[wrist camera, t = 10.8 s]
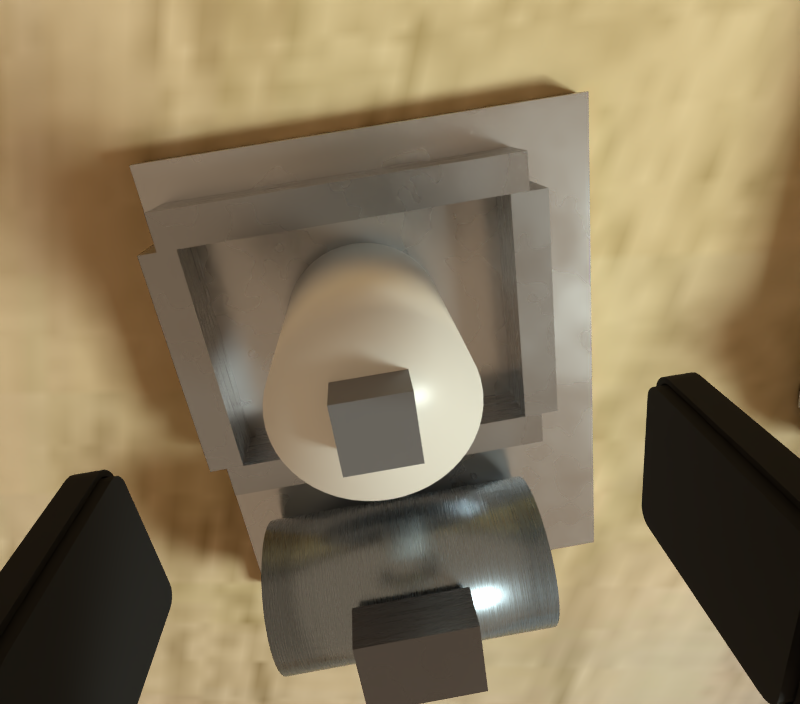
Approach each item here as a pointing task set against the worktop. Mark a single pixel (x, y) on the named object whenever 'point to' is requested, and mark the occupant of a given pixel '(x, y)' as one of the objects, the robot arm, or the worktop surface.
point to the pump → (370, 378)
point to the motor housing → (482, 334)
